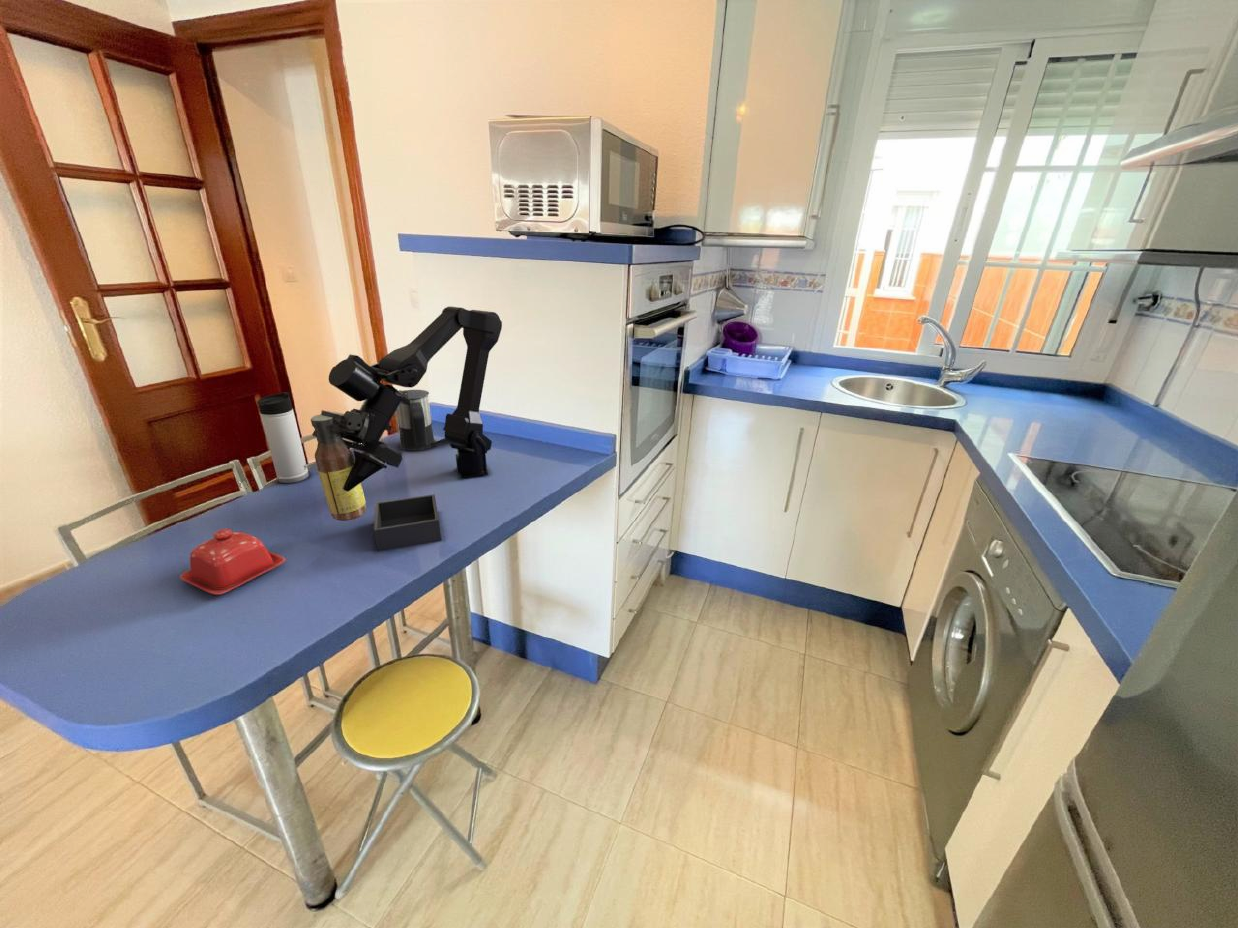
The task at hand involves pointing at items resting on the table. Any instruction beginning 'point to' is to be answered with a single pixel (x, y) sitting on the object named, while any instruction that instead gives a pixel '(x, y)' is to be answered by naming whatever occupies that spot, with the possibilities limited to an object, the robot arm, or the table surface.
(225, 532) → the butter dish
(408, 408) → the milk frother
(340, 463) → the sauce bottle
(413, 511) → the bin
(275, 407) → the travel mug
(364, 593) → the table surface
